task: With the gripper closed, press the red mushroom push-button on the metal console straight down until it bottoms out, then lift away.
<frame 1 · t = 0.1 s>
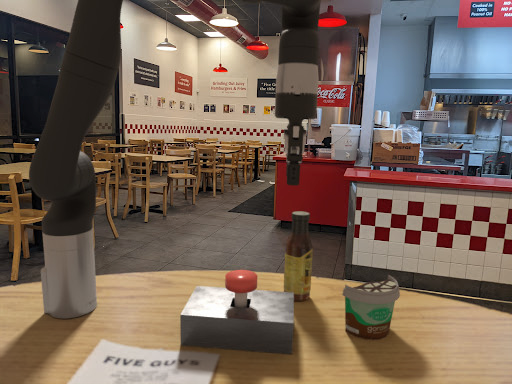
hand: (292, 181, 73), 29 cm above the table, fingers open, 8 cm apart
food container: (374, 334, 76), on the table
console: (240, 331, 75), on the table
red button: (241, 293, 73), point 8 cm above the table, slide at 3.0 cm
sauce bottle: (296, 296, 91), on the table
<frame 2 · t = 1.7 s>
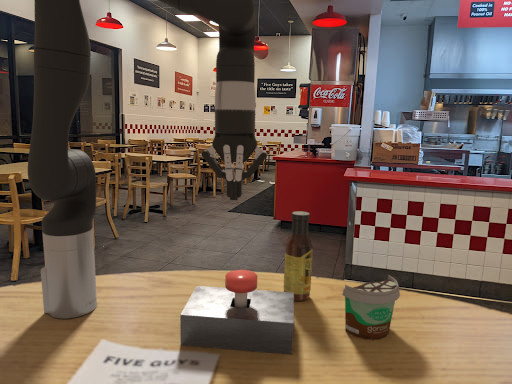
hand: (234, 199, 75), 25 cm above the table, fingers closed
nothing on the table moved.
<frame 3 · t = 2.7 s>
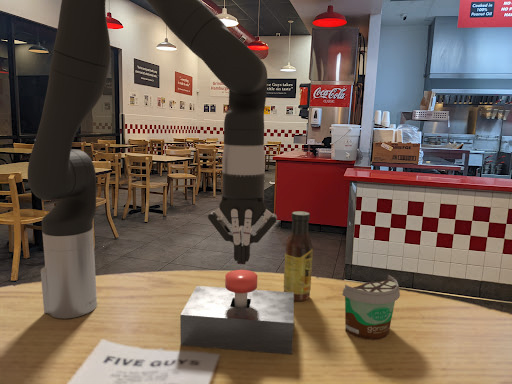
hand: (242, 262, 72), 14 cm above the table, fingers closed
nothing on the table moved.
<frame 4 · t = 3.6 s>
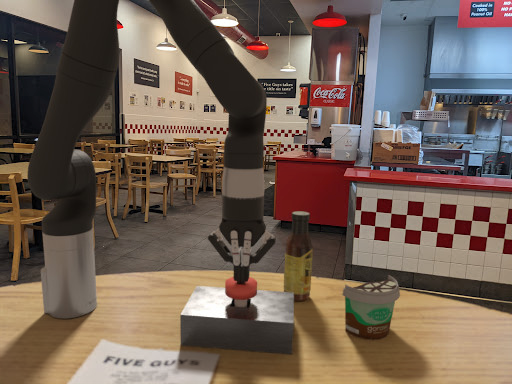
hand: (241, 282, 73), 10 cm above the table, fingers closed
red button: (240, 299, 74), point 7 cm above the table, slide at 1.7 cm, touching gripper
everything else where it was.
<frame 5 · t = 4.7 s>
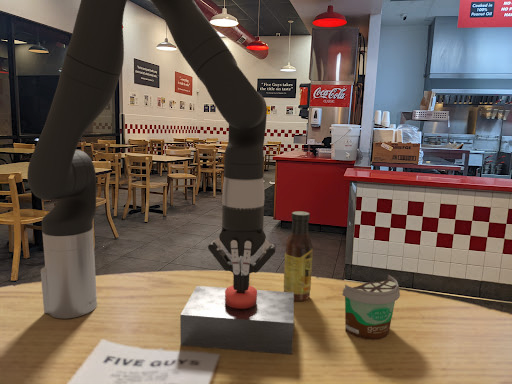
hand: (241, 291, 73), 8 cm above the table, fingers closed
red button: (240, 308, 74), point 5 cm above the table, slide at -0.1 cm, touching gripper
everything else where it was.
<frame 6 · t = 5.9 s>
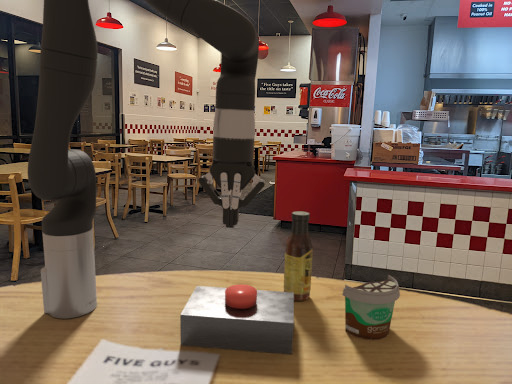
hand: (230, 226, 74), 20 cm above the table, fingers closed
red button: (240, 308, 74), point 5 cm above the table, slide at -0.1 cm
everything else where it was.
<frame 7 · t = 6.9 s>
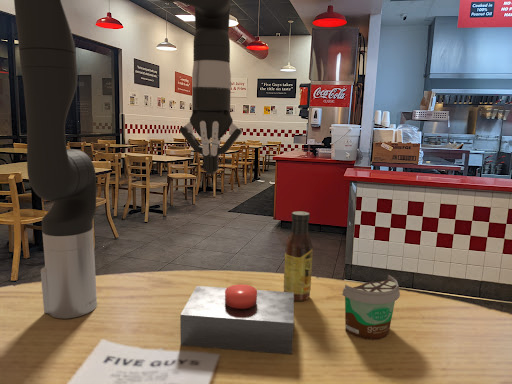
hand: (210, 173, 80), 29 cm above the table, fingers closed
nothing on the table moved.
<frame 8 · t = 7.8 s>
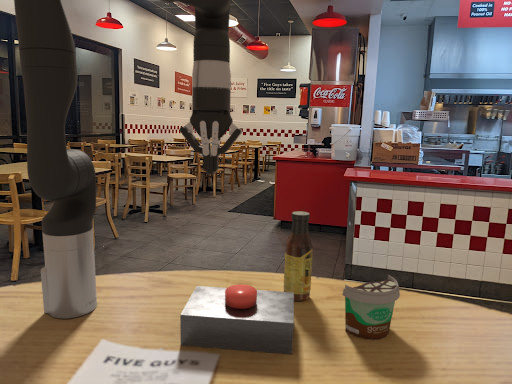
hand: (210, 173, 80), 29 cm above the table, fingers closed
nothing on the table moved.
at the end: red button slide at -0.1 cm; sauce bottle moved 0.2 cm from its start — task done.
